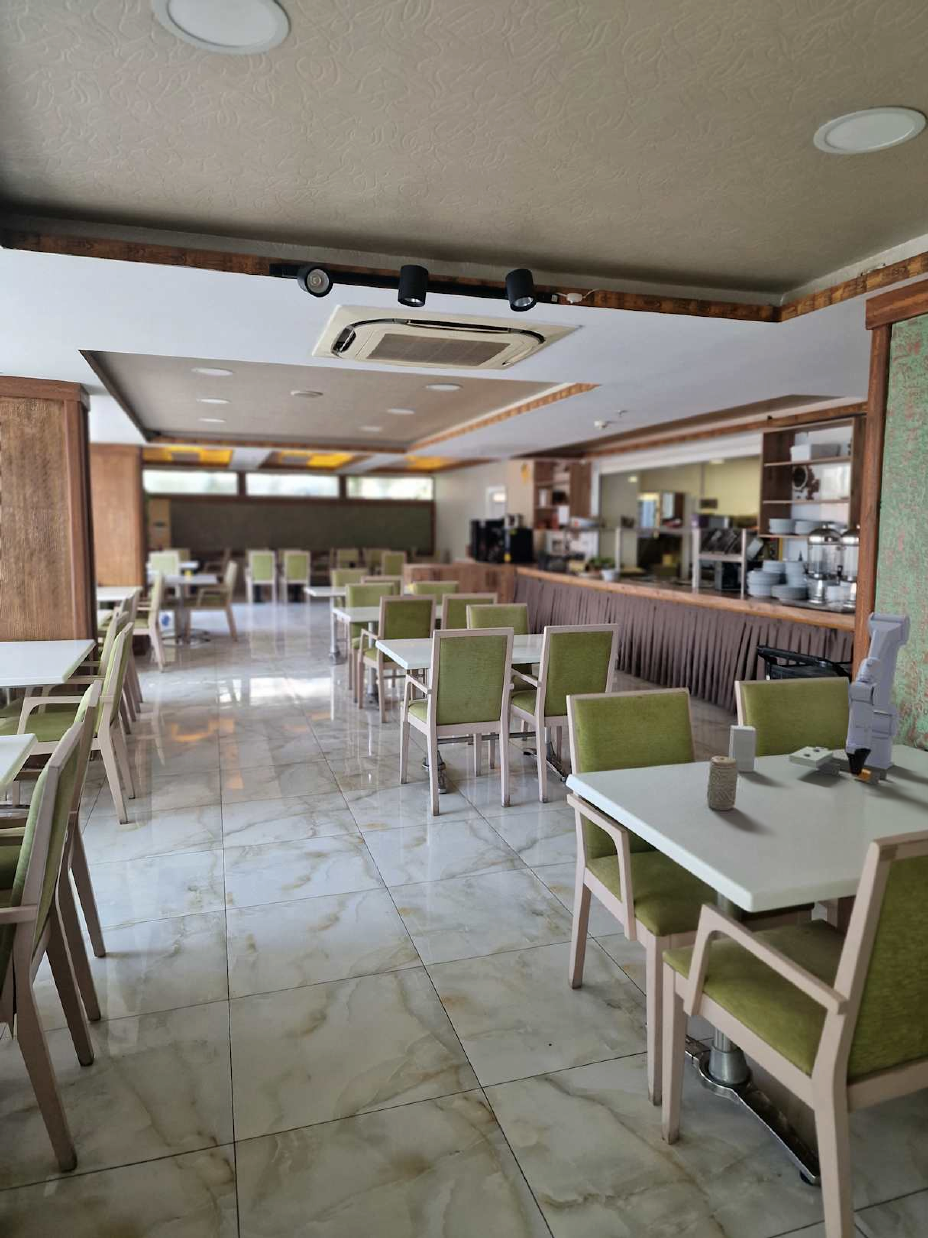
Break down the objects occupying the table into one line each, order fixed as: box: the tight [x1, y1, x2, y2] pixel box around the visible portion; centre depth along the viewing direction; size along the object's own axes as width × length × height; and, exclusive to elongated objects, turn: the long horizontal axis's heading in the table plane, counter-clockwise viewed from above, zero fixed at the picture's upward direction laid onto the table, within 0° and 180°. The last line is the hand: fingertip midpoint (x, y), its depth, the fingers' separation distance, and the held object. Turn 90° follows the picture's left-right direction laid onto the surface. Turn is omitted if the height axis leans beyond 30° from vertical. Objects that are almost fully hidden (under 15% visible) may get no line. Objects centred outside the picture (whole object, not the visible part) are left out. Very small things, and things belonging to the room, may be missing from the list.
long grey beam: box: [818, 756, 888, 786], centre depth 212 cm, size 8×15×3 cm, turn 46°
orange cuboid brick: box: [851, 769, 871, 783], centre depth 209 cm, size 2×5×2 cm, turn 25°
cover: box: [788, 746, 834, 769], centre depth 213 cm, size 7×15×6 cm, turn 136°
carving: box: [706, 755, 739, 811], centre depth 182 cm, size 6×8×12 cm
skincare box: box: [728, 725, 757, 773], centre depth 213 cm, size 6×4×12 cm
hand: (855, 774), depth 209 cm, fingers closed
